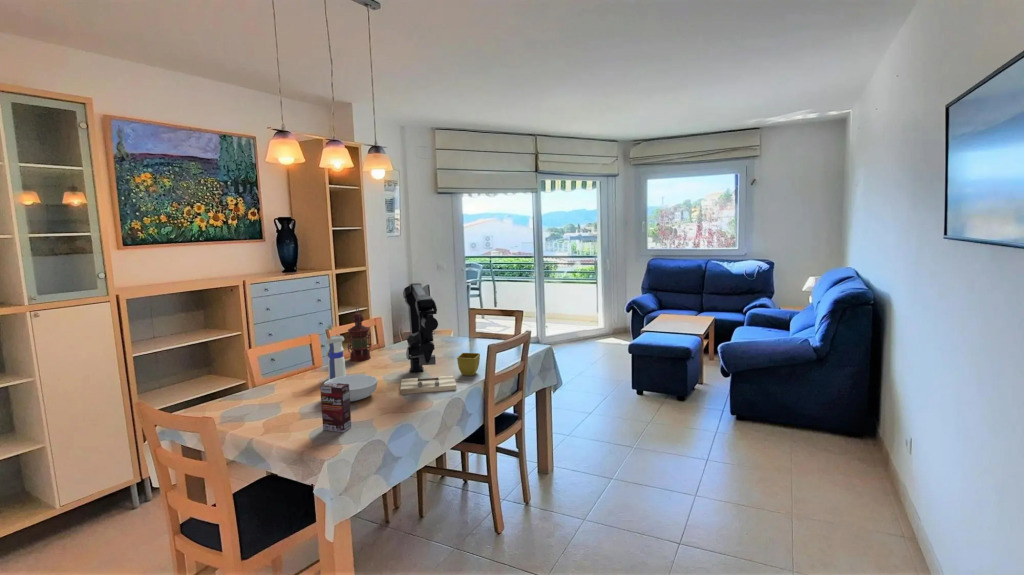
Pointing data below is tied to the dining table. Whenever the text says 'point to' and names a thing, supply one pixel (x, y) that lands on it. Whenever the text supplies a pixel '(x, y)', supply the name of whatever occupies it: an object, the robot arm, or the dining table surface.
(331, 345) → the water bottle
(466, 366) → the flower pot
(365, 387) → the serving bowl
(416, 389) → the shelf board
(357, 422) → the dining table surface
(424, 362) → the dark grey chamfered block
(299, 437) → the dining table surface
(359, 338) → the lantern
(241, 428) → the dining table surface
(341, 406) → the supplement box
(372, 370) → the dining table surface
